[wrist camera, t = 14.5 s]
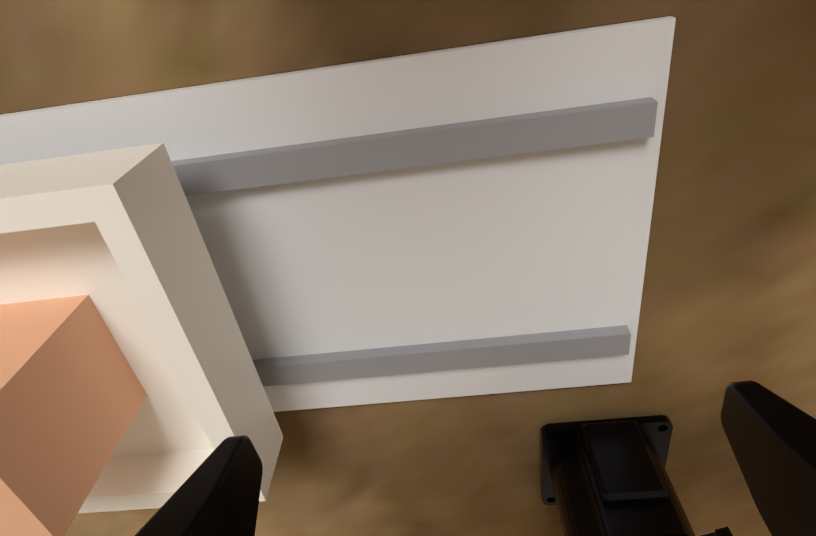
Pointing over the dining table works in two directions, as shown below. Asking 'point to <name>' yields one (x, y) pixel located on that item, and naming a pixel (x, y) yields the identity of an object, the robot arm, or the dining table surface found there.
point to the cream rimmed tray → (139, 310)
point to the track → (415, 209)
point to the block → (58, 410)
